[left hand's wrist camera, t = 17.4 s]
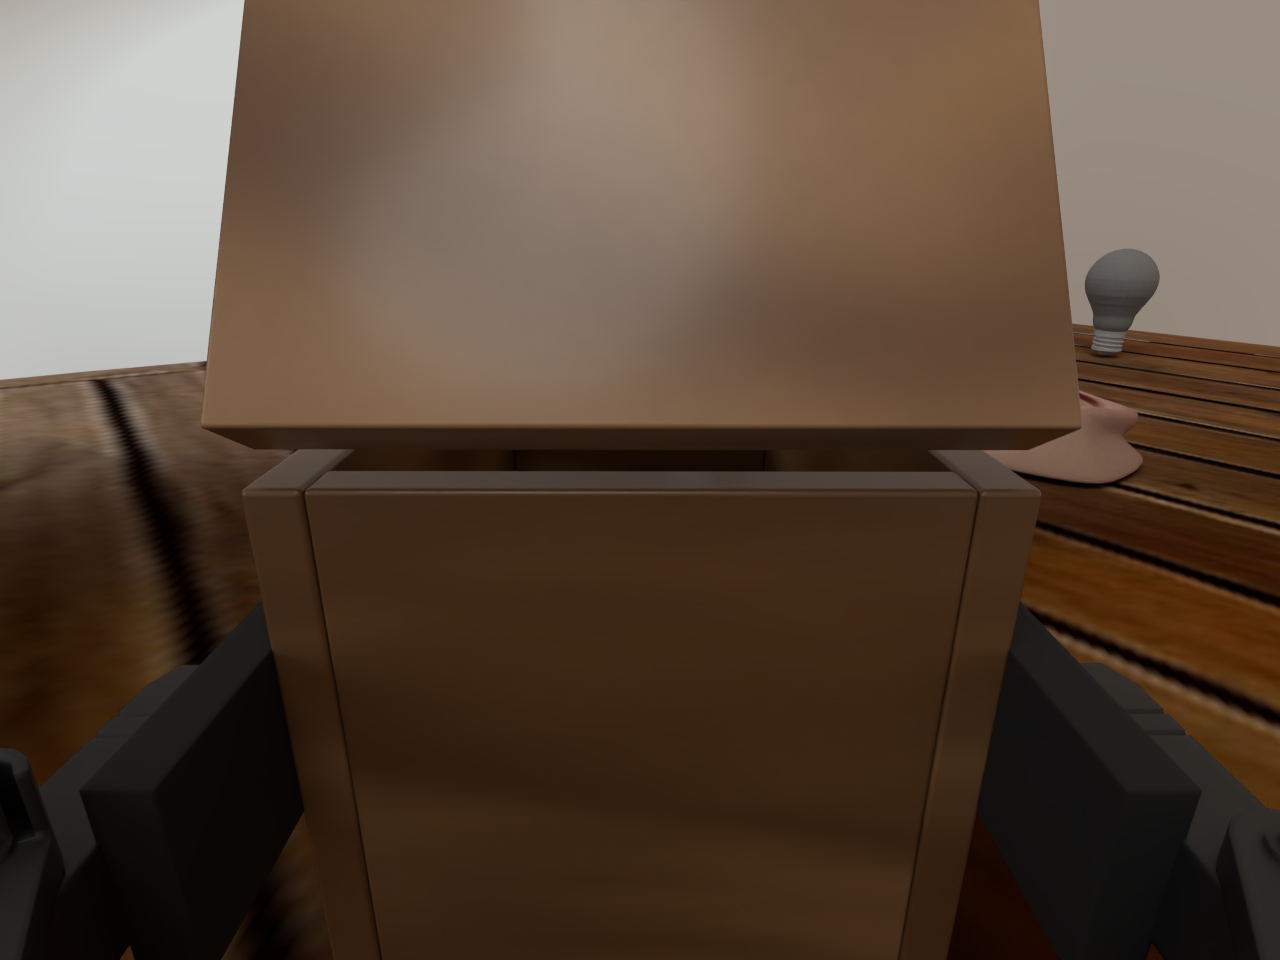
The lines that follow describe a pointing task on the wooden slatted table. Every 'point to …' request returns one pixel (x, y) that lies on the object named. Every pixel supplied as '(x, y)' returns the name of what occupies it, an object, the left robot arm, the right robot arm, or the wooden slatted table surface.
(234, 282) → the lid
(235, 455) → the wooden slatted table surface
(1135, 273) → the light bulb
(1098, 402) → the anatomical model
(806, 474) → the chest
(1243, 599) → the wooden slatted table surface
